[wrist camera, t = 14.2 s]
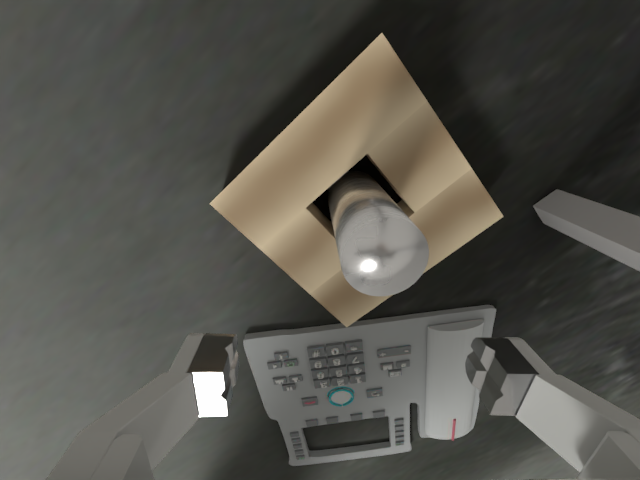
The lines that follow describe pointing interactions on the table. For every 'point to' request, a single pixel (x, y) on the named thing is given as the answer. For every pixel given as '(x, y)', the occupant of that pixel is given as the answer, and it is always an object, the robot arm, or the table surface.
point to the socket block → (341, 155)
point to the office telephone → (370, 378)
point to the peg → (374, 237)
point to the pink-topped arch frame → (593, 225)
